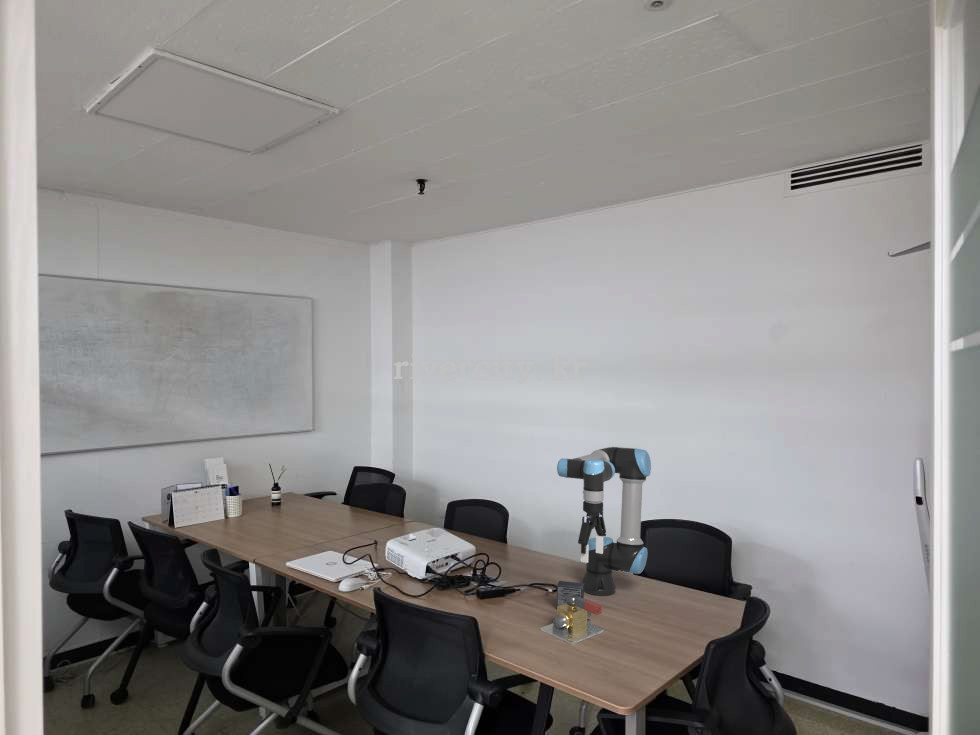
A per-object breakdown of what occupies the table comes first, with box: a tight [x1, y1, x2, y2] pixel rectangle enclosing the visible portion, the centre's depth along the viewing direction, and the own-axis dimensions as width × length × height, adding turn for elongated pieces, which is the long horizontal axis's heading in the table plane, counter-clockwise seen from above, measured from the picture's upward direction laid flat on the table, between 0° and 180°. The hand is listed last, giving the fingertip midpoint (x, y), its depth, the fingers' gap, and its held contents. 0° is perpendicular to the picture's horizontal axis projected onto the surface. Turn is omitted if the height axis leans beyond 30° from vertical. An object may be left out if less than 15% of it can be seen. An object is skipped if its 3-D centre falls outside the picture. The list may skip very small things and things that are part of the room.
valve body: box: [539, 603, 605, 646], centre depth 237 cm, size 18×16×10 cm
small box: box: [556, 580, 585, 607], centre depth 259 cm, size 11×6×10 cm, turn 74°
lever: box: [567, 594, 603, 616], centre depth 233 cm, size 15×4×3 cm, turn 41°
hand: (592, 557), depth 236 cm, fingers open, 13 cm apart
